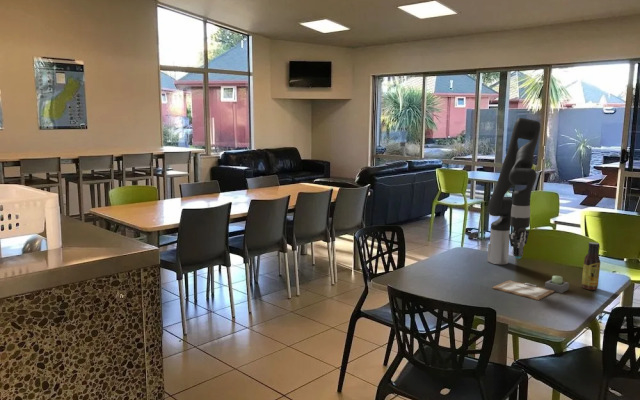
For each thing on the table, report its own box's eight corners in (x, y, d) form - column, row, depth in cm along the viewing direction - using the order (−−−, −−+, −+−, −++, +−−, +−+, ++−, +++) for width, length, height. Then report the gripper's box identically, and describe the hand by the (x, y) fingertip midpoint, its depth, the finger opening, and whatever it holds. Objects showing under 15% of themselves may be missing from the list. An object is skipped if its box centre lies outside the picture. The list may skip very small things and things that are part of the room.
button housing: (544, 289, 220) (545, 282, 220) (551, 285, 225) (552, 279, 224) (561, 293, 215) (561, 286, 215) (568, 289, 220) (568, 282, 219)
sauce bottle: (591, 291, 217) (595, 245, 214) (578, 287, 223) (581, 242, 220) (601, 289, 220) (605, 243, 217) (587, 285, 226) (591, 240, 223)
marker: (512, 257, 220) (513, 238, 219) (516, 256, 223) (517, 236, 221) (519, 259, 218) (521, 239, 217) (523, 257, 220) (524, 238, 219)
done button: (550, 284, 220) (550, 276, 219) (554, 282, 222) (554, 274, 222) (559, 286, 217) (560, 278, 216) (563, 284, 220) (564, 276, 219)
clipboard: (492, 288, 221) (492, 286, 221) (509, 281, 231) (509, 278, 231) (538, 300, 206) (538, 297, 206) (554, 292, 216) (554, 289, 216)
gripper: (519, 212, 225) (517, 251, 228) (503, 216, 216) (501, 256, 218) (536, 214, 220) (534, 254, 222) (521, 218, 210) (518, 260, 213)
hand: (518, 255), depth 220 cm, fingers closed on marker, 3 cm apart
